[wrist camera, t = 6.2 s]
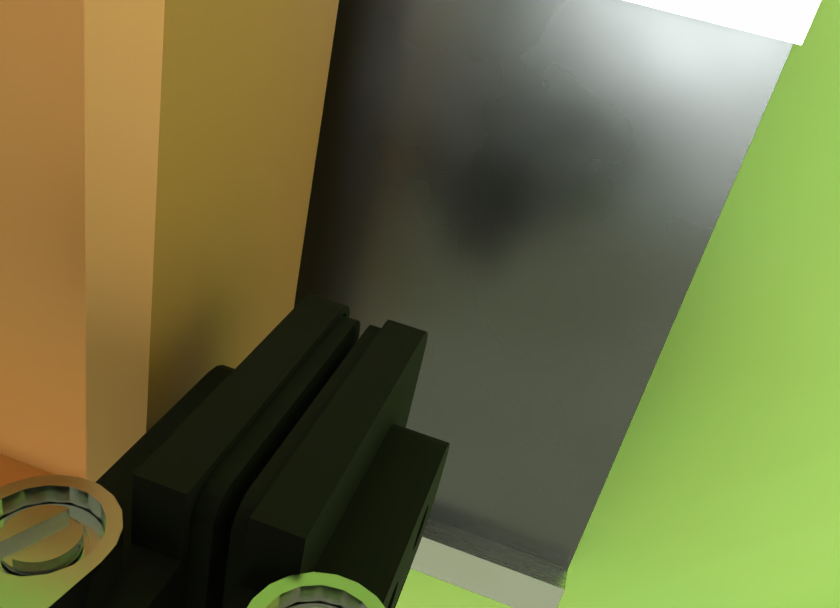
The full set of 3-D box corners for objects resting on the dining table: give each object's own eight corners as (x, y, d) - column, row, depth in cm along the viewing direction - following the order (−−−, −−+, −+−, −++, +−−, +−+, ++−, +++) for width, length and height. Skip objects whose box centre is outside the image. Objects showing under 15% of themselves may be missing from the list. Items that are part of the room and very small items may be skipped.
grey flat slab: (-156, 299, 21) (-222, 328, 19) (-261, -290, 14) (-373, -318, 13) (560, 561, 18) (551, 621, 16) (810, -36, 12) (835, -33, 10)
